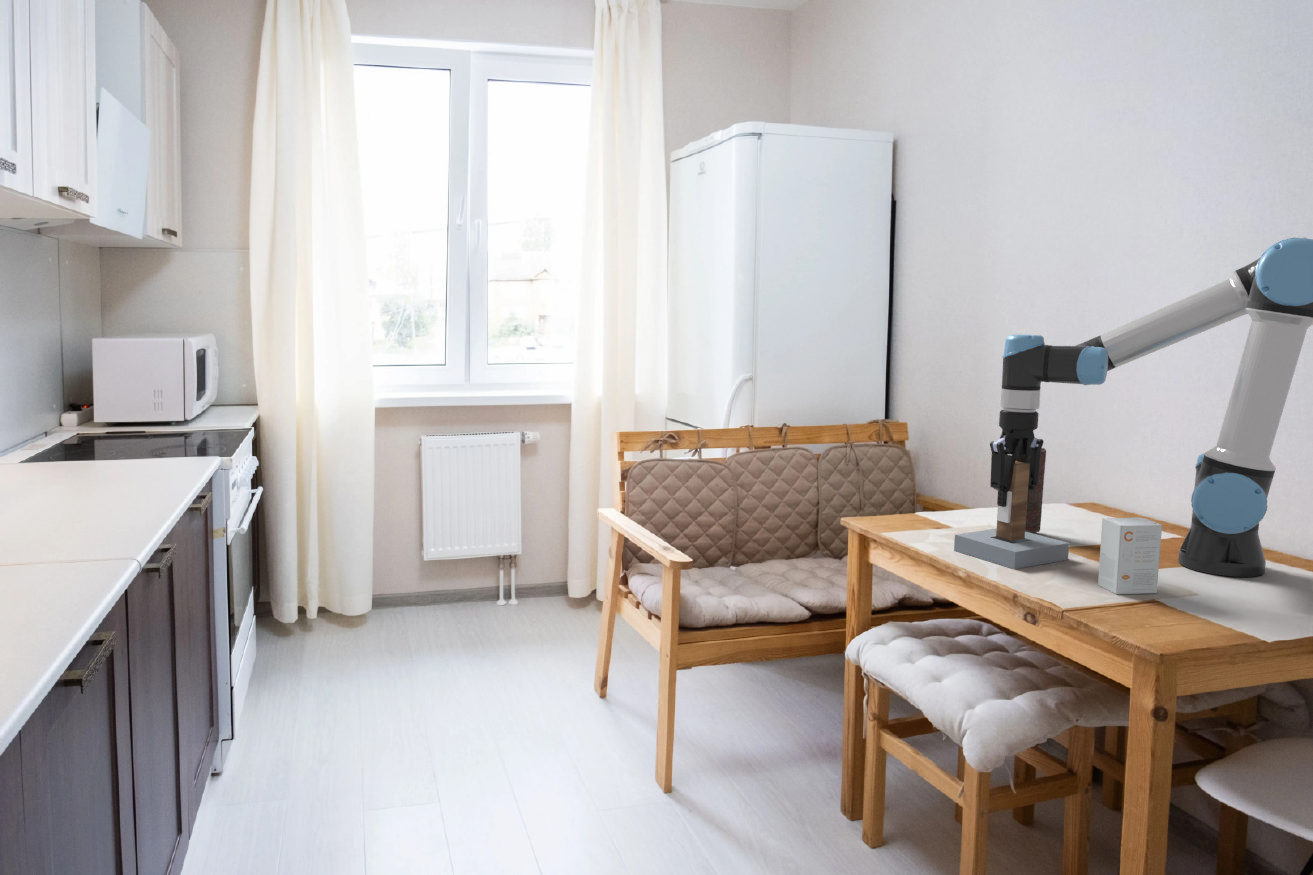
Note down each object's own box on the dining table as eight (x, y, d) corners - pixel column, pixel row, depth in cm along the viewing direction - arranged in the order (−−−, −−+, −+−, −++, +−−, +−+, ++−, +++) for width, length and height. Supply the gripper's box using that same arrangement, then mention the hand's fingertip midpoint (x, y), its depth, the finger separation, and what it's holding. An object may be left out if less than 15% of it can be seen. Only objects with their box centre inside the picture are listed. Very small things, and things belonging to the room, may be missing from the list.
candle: (1045, 537, 214) (1051, 450, 211) (1012, 537, 214) (1018, 450, 211) (1032, 529, 221) (1038, 445, 219) (1001, 529, 222) (1006, 445, 219)
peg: (1024, 538, 198) (1029, 463, 195) (1011, 540, 196) (1016, 464, 193) (1009, 534, 201) (1014, 460, 199) (996, 536, 199) (1000, 461, 197)
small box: (1136, 583, 179) (1142, 516, 177) (1157, 594, 172) (1163, 524, 171) (1096, 584, 178) (1101, 517, 176) (1115, 595, 172) (1121, 525, 170)
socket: (1068, 559, 196) (1069, 543, 195) (1014, 569, 188) (1015, 552, 187) (1006, 542, 209) (1007, 526, 209) (953, 550, 202) (954, 534, 201)
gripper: (1032, 406, 202) (1025, 512, 205) (975, 409, 194) (968, 520, 197) (1062, 409, 195) (1054, 520, 199) (1004, 413, 187) (996, 528, 190)
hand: (1011, 520), depth 198 cm, fingers closed on peg, 4 cm apart
